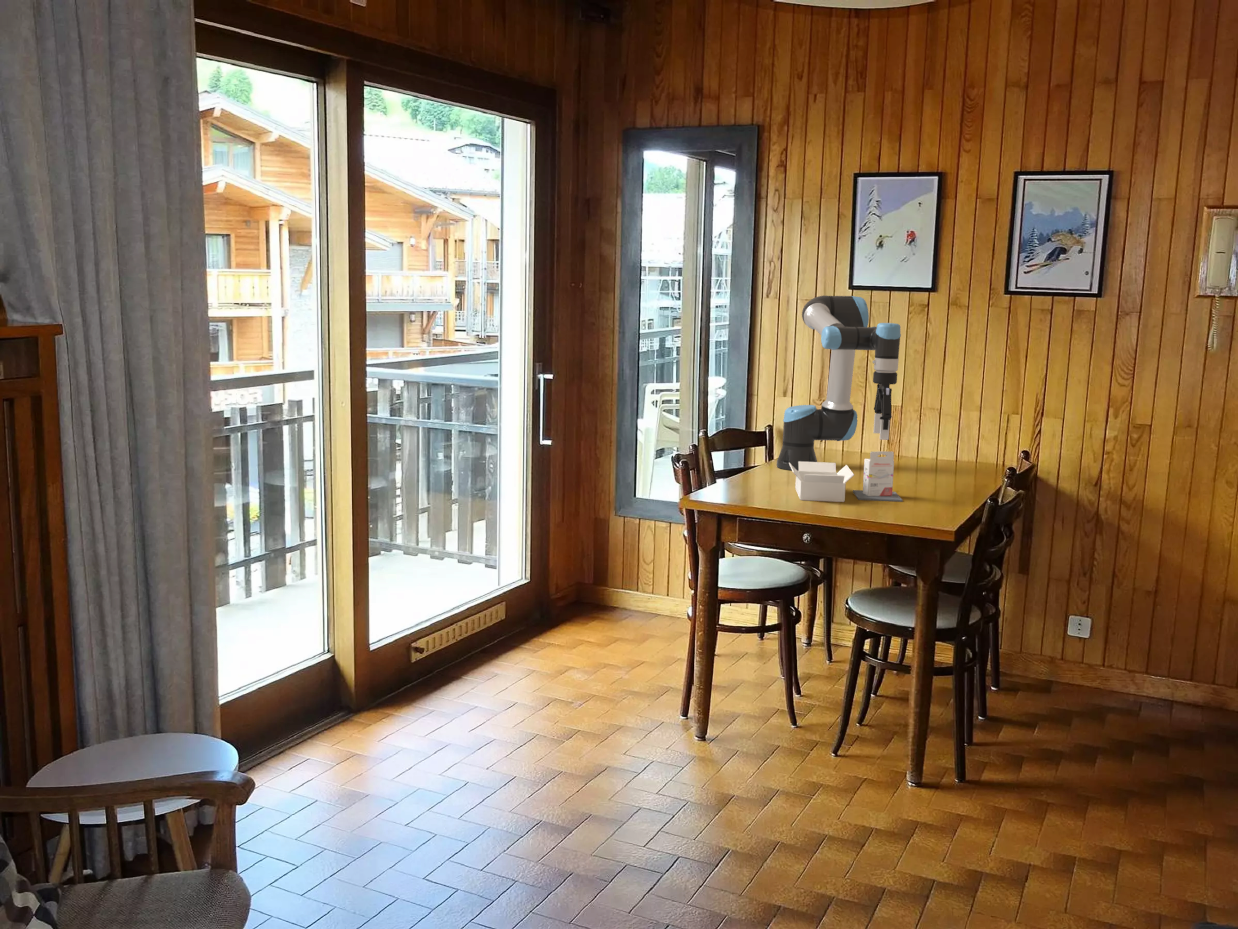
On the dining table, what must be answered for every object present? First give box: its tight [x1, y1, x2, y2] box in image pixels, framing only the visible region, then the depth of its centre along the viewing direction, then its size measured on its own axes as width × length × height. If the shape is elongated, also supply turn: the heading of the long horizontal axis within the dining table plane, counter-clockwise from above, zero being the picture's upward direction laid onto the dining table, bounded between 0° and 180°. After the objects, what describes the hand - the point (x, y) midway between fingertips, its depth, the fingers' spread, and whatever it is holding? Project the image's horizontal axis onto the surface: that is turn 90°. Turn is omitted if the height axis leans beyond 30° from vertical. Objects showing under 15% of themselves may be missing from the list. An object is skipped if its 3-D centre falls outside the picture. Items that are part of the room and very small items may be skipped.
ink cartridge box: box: [862, 450, 895, 496], centre depth 366 cm, size 9×5×15 cm, turn 99°
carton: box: [789, 461, 855, 503], centre depth 366 cm, size 25×19×9 cm
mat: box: [852, 489, 904, 503], centre depth 367 cm, size 14×14×1 cm
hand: (880, 436), depth 364 cm, fingers open, 13 cm apart
